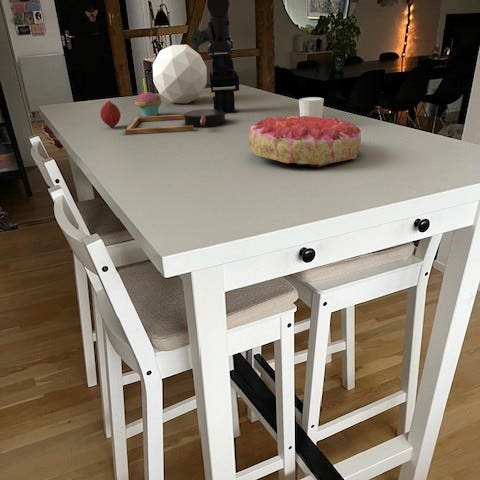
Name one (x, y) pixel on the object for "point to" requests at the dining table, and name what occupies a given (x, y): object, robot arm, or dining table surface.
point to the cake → (305, 140)
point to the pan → (204, 118)
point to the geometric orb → (179, 74)
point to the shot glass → (311, 106)
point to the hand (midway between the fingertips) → (222, 78)
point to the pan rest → (131, 127)
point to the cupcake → (148, 102)
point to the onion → (110, 114)
